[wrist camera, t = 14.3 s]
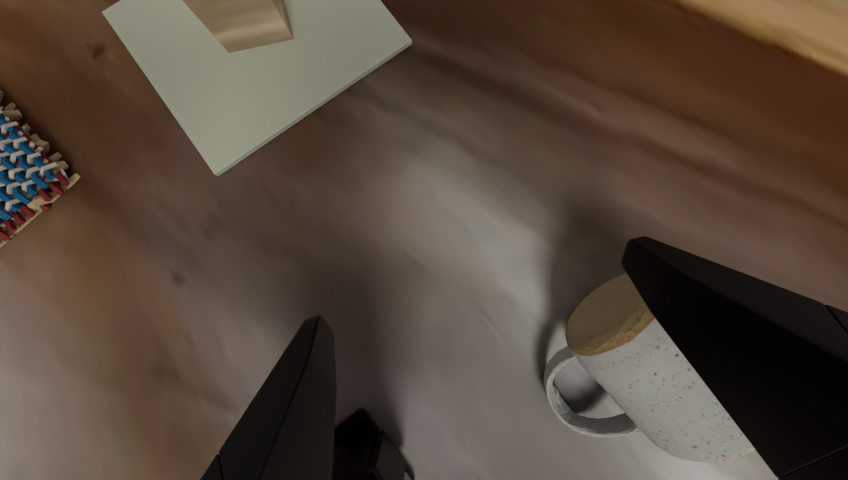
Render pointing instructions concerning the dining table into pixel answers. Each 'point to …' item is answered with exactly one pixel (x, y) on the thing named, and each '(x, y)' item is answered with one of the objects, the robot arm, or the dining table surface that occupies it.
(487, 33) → the dining table surface
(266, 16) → the beige rectangular block
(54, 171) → the woven mat
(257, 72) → the sage placemat
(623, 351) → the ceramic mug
